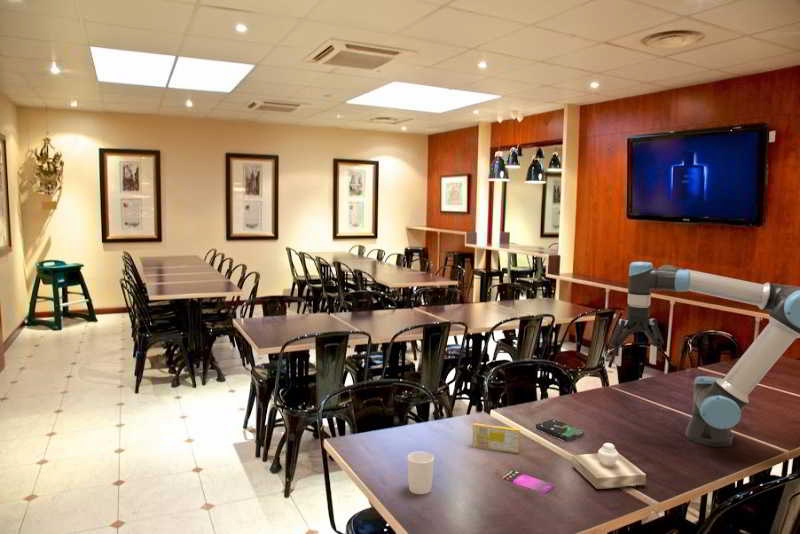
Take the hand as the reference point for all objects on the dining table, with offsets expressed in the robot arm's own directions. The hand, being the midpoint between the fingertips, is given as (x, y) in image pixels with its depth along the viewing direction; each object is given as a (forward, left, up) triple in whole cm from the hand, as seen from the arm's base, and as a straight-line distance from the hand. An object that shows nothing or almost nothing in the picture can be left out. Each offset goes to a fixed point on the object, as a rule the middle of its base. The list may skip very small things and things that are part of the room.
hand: (635, 364), depth 205 cm
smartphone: (+49, +23, -29) cm, 62 cm away
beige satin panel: (+23, +24, -29) cm, 44 cm away
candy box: (+51, -1, -29) cm, 59 cm away
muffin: (+23, +24, -25) cm, 41 cm away
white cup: (+83, +23, -29) cm, 91 cm away
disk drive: (+22, -11, -29) cm, 39 cm away
